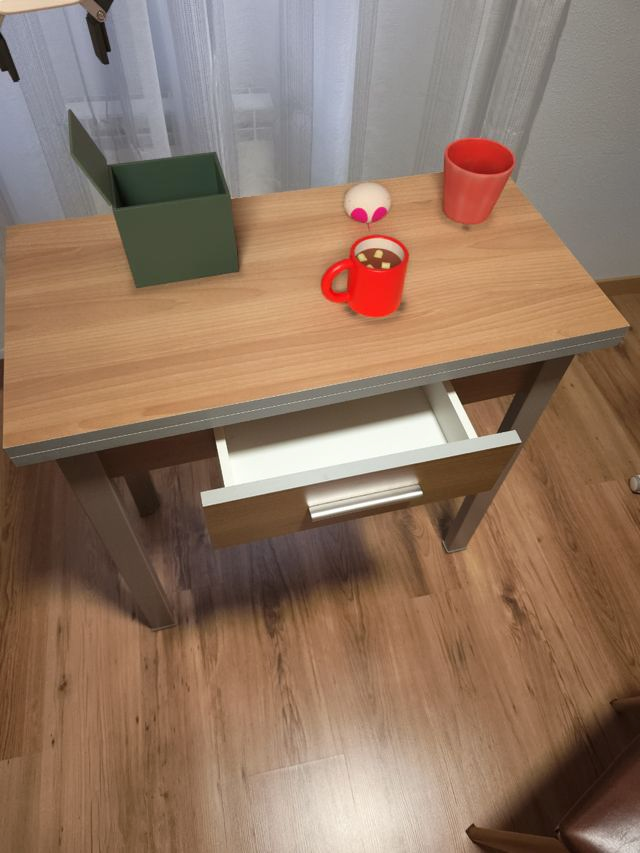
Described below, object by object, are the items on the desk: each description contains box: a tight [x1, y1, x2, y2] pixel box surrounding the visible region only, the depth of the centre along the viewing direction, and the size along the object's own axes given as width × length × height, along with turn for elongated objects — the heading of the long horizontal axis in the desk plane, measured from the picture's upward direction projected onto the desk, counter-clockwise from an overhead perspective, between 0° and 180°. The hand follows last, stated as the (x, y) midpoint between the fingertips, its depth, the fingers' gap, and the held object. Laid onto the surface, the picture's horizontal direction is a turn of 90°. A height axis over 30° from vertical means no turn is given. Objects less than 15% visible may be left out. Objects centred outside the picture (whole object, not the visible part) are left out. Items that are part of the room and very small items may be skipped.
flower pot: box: [442, 137, 516, 226], centre depth 91 cm, size 11×11×10 cm
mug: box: [320, 234, 410, 318], centre depth 78 cm, size 8×12×8 cm, turn 110°
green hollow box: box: [107, 151, 240, 289], centre depth 81 cm, size 15×11×12 cm
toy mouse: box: [343, 181, 392, 232], centre depth 91 cm, size 8×8×7 cm
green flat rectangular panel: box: [67, 108, 112, 207], centre depth 71 cm, size 7×11×1 cm
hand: (59, 68), depth 62 cm, fingers open, 9 cm apart
